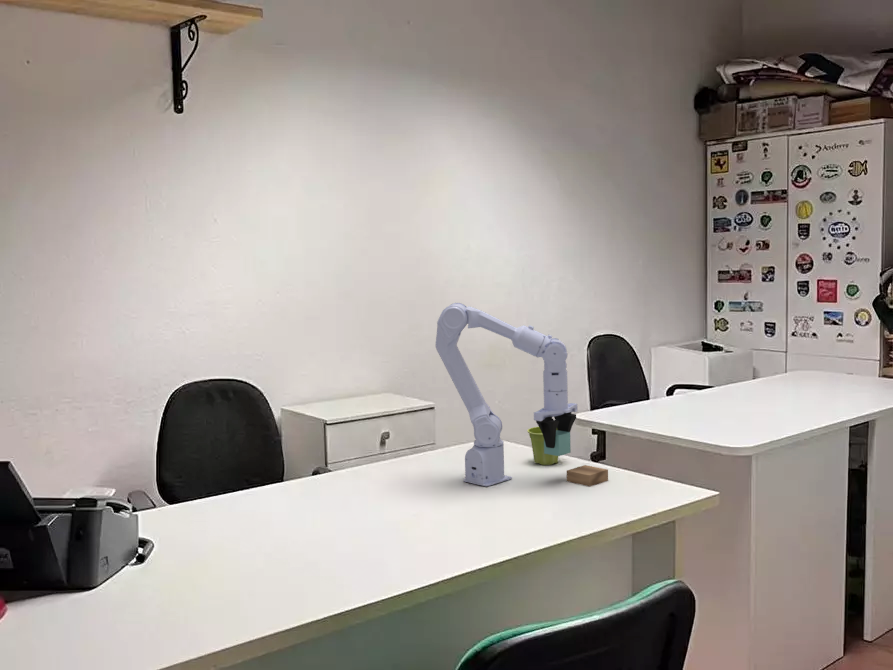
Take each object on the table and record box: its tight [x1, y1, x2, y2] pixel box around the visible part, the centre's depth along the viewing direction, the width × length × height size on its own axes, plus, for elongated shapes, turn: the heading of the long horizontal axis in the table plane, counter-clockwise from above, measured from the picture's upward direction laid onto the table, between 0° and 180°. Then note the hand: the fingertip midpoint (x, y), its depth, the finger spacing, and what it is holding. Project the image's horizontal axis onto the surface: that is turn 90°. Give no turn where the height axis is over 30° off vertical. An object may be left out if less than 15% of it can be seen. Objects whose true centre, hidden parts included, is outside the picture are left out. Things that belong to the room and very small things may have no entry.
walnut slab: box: [566, 464, 609, 487], centre depth 215 cm, size 7×7×3 cm
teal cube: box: [544, 430, 572, 457], centre depth 216 cm, size 4×4×5 cm
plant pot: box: [526, 426, 559, 466], centre depth 234 cm, size 9×9×9 cm
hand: (556, 445), depth 216 cm, fingers closed on teal cube, 4 cm apart
